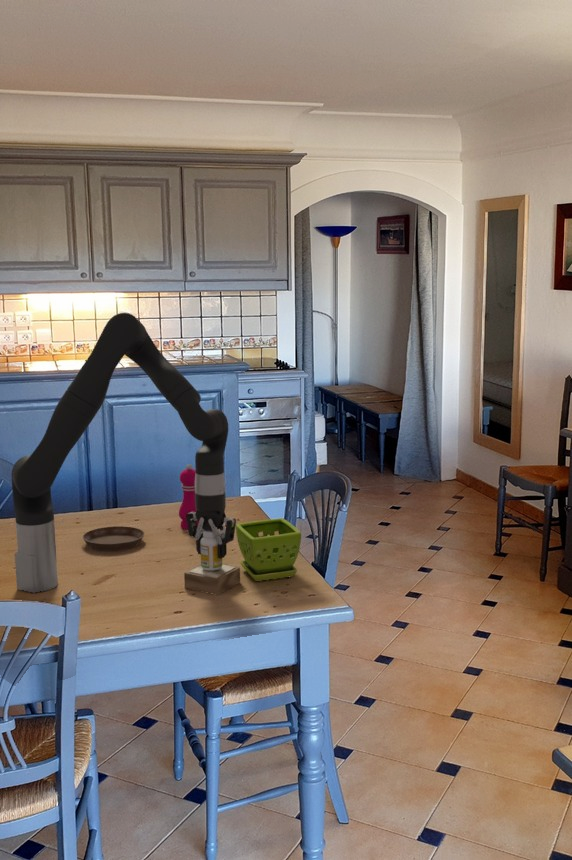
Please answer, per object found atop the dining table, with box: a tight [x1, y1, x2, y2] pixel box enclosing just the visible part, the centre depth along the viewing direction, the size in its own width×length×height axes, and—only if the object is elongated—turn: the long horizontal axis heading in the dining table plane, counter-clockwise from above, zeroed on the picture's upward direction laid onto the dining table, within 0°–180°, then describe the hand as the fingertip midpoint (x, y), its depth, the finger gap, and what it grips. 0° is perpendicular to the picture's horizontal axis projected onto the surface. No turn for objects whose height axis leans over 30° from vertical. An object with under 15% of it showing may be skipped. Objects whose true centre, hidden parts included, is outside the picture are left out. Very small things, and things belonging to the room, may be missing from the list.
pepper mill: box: [178, 463, 199, 531], centre depth 266 cm, size 7×7×20 cm
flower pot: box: [235, 518, 302, 582], centre depth 224 cm, size 14×14×13 cm
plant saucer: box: [82, 525, 145, 552], centre depth 252 cm, size 18×18×3 cm
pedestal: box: [183, 563, 241, 595], centre depth 217 cm, size 10×10×4 cm
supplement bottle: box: [200, 529, 223, 570], centre depth 216 cm, size 5×5×10 cm
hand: (211, 555), depth 216 cm, fingers open, 5 cm apart
